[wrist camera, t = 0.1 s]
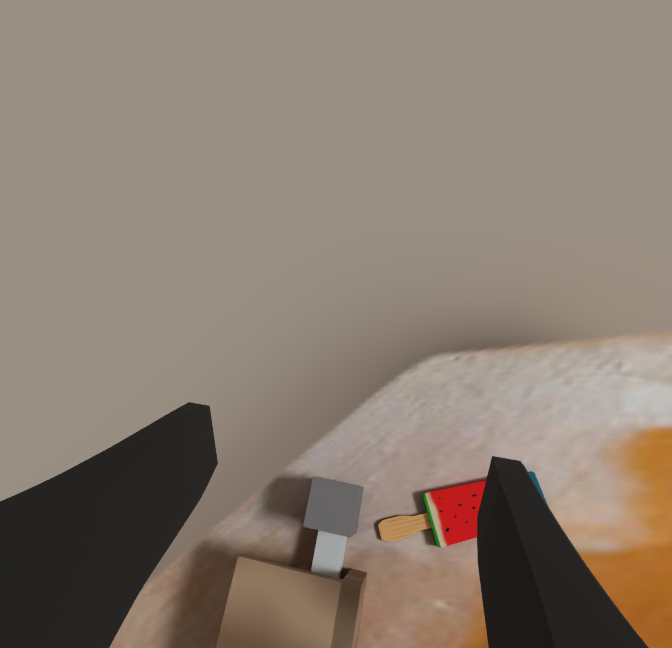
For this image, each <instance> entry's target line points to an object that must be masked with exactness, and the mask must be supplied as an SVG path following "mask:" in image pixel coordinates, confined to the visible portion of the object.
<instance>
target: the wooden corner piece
mask: <svg viewBox="0 0 672 648" xmlns="http://www.w3.org/2000/svg"><path fill="white" fill-rule="evenodd" d="M366 576H367V573H366V572H362V571H358V570H354V569H350V570H349V572H348V573H347V575H346V576H345V578H344V579H340V578H336V577H332V576H328V575H324V574H320V573H316V572H312V571H308V570H304V569H300V568H296V567H292V566H288V565H284V564H280V563H276V562H272V561H268V560H264V559H261V558H257V557H253V556H249V555H245V554H242V555H239V556H238V558H237V562H236V566H235V571H234V575H233V579H232V583H231V587H230V591H229V595H228V599H227V603H226V607H225V611H224V615H223V619H222V623H221V628H220V632H219V636H218V640H217V644H216V648H356V646H357V639H358V632H359V625H360V618H361V611H362V604H363V597H364V590H365V583H366Z"/></svg>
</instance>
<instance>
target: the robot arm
mask: <svg viewBox="0 0 672 648" xmlns="http://www.w3.org/2000/svg"><path fill="white" fill-rule="evenodd" d="M217 464H218V462H217V455H216V448H215V441H214V434H213V427H212V419H211V412H210V406H207V405H201V404H195V403H187V404H185V405H183V406H181V407H180V408H178V409H176V410H174V411H172V412H170V413H169V414H167V415H165V416H164V417H162V418H160V419H158V420H157V421H155V422H154V423H152V424H150V425H149V426H147V427H145V428H143V429H141V430H140V431H138V432H136V433H134V434H133V435H131V436H129V437H128V438H126V439H124V440H122V441H121V442H119V443H117V444H115V445H114V446H112V447H110V448H108V449H107V450H105V451H103V452H101V453H99V454H97V455H95V456H94V457H92V458H90V459H88V460H86V461H84V462H82V463H80V464H78V465H77V466H75V467H73V468H71V469H69V470H67V471H65V472H63V473H61V474H59V475H58V476H55V477H53V478H51V479H49V480H47V481H45V482H43V483H41V484H39V485H37V486H34V487H32V488H30V489H28V490H25V491H23V492H21V493H19V494H17V495H15V496H12V497H10V498H7V499H5V500H3V501H0V648H109V647H110V645H111V643H112V641H113V639H114V638H115V636H116V634H117V632H118V630H119V628H120V627H121V625H122V623H123V621H124V619H125V617H126V615H127V614H128V612H129V610H130V608H131V606H132V604H133V603H134V601H135V599H136V597H137V596H138V594H139V592H140V591H141V589H142V587H143V586H144V584H145V583H146V581H147V579H148V578H149V576H150V575H151V573H152V572H153V570H154V569H155V567H156V566H157V564H158V563H159V561H160V560H161V558H162V557H163V555H164V554H165V552H166V550H167V549H168V548H169V546H170V545H171V543H172V542H173V540H174V539H175V537H176V536H177V534H178V532H179V531H180V529H181V528H182V526H183V525H184V523H185V522H186V520H187V519H188V517H189V516H190V514H191V513H192V511H193V510H194V508H195V506H196V505H197V503H198V502H199V500H200V498H201V497H202V494H203V493H204V491H205V489H206V487H207V485H208V483H209V481H210V479H211V476H212V475H213V472H214V470H215V468H216V466H217ZM477 547H478V567H479V575H480V583H481V591H482V599H483V607H484V614H485V622H486V629H487V637H488V645H489V648H648V646H647V645H646V644H645V643H644V641H643V640H642V639H641V638H640V637H639V635H638V634H637V633H636V631H635V630H634V629H633V628H632V626H631V625H630V624H629V622H628V621H627V620H626V619H625V617H624V616H623V615H622V613H621V612H620V611H619V609H618V608H617V607H616V605H615V604H614V603H613V601H612V600H611V599H610V597H609V596H608V595H607V593H606V592H605V590H604V589H603V588H602V586H601V585H600V584H599V582H598V581H597V580H596V578H595V577H594V575H593V574H592V573H591V571H590V570H589V568H588V567H587V565H586V564H585V562H584V561H583V560H582V558H581V557H580V555H579V554H578V552H577V551H576V549H575V548H574V546H573V545H572V543H571V542H570V540H569V539H568V537H567V536H566V534H565V533H564V531H563V530H562V528H561V526H560V525H559V523H558V522H557V520H556V519H555V517H554V515H553V514H552V512H551V511H550V509H549V507H548V506H547V504H546V502H545V501H544V499H543V497H542V496H541V494H540V492H539V491H538V489H537V487H536V486H535V484H534V482H533V480H532V479H531V477H530V475H529V473H528V472H527V470H526V468H525V466H524V465H523V464H522V463H521V461H517V460H511V459H506V458H500V457H494V456H492V460H491V464H490V468H489V472H488V476H487V480H486V484H485V488H484V491H483V495H482V499H481V503H480V507H479V511H478V515H477Z"/></svg>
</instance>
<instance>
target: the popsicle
mask: <svg viewBox="0 0 672 648" xmlns="http://www.w3.org/2000/svg"><path fill="white" fill-rule="evenodd" d="M528 473H529V475H530V477H531V479H532V480H533V482H534V484H535V486H536V487H537V489H538V491H539V492H540V494H541V496H542V497H543V499H544V501H545V502H546V500H545V498H544V495H543V493H542V490H541V488H540V485H539V483H538V481H537V478H536V476H535V473H534V472H528ZM485 484H486V481H481V482H476V483H471V484H466V485H461V486H456V487H452V488H447V489H442V490H437V491H432V492H427V493H424V494H423V495H422V497H423V500H424V504H425V507H426V510H427V513H423V514H419V515H415V516H397V517H393V518H389V519H385V520H383V521H381V522H380V523H379V525H378V527H379V531H380V535H381V539H382V540H383V541H386V542H391V541H395V540H399V539H403V538H407V537H408V536H410V535H412V534H414V533H415V532H417V531H420V530H424V529H428V528H432V531H433V534H434V538H435V541H436V545H437V546H438V547H445V546H449V545H452V544H455V543H459V542H462V541H466V540H469V539H473V538H476V537H477V515H478V511H479V507H480V503H481V499H482V495H483V491H484V488H485ZM546 504H547V503H546ZM547 506H548V505H547Z"/></svg>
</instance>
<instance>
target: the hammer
mask: <svg viewBox="0 0 672 648" xmlns="http://www.w3.org/2000/svg"><path fill="white" fill-rule="evenodd" d="M362 493H363V487H361V486H358V485H353V484H348V483H343V482H338V481H333V480H329V479H324V478H319V477H314V476H313V479H312V484H311V489H310V494H309V499H308V504H307V509H306V514H305V519H304V524H303V527H306V528H311V529H315V530H318V536H317V541H316V546H315V552H314V557H313V562H312V568H311V571H312V572H316V573H320V574H324V575H328V576H332V577H336V578H340V577H341V571H342V564H343V558H344V552H345V546H346V540H347V537H351V536H353V535H354V534H355V533H356V532H357V525H358V519H359V512H360V506H361V500H362Z"/></svg>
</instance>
